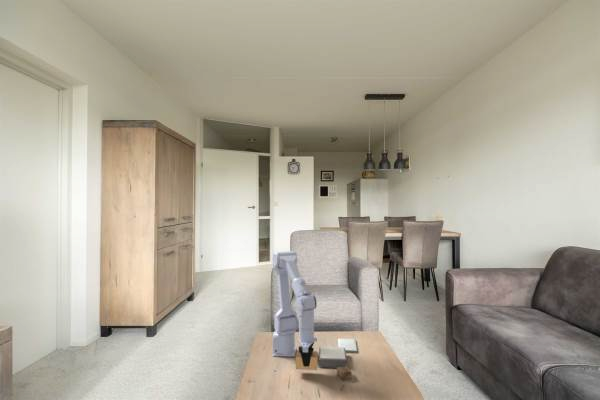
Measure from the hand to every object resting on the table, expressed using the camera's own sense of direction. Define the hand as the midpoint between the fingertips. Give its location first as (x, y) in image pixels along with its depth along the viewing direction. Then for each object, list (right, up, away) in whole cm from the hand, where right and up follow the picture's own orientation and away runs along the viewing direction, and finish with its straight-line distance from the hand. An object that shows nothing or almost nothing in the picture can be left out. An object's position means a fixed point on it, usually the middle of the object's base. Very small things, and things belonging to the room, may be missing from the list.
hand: (306, 362), depth 114 cm
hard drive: (+19, -6, +23) cm, 31 cm away
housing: (0, -2, 0) cm, 2 cm away
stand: (+11, -5, +10) cm, 15 cm away
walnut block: (+14, -4, -2) cm, 15 cm away
